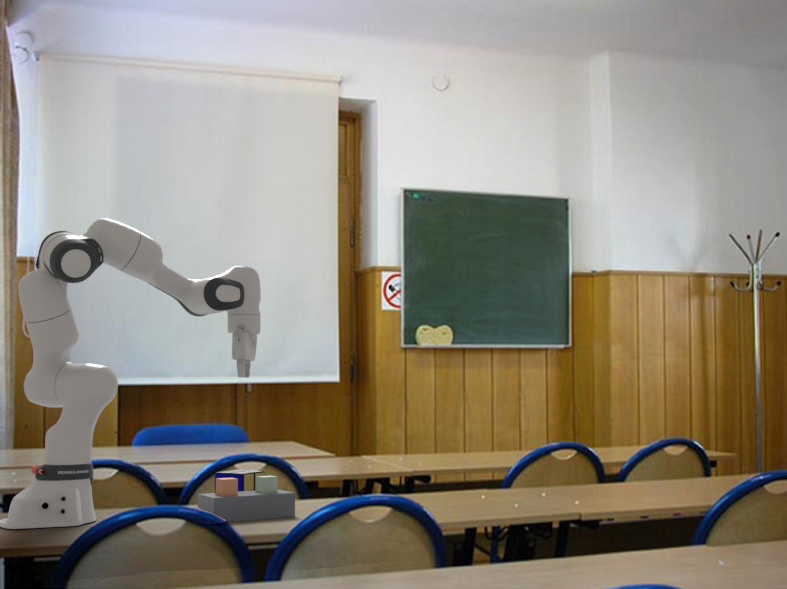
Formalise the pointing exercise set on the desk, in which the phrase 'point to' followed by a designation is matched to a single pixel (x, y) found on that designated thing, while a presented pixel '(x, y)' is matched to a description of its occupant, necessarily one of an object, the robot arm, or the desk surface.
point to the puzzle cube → (241, 478)
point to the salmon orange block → (226, 486)
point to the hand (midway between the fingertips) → (243, 377)
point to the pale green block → (266, 484)
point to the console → (249, 505)
